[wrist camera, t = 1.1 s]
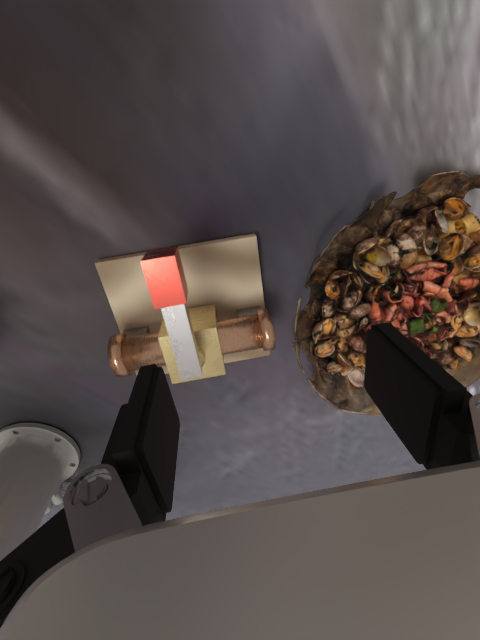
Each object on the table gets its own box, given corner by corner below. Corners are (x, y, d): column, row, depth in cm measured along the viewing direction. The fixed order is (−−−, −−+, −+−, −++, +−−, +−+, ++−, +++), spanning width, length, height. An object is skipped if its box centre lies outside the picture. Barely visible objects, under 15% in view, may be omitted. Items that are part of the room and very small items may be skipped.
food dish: (341, 132, 33) (382, 119, 26) (563, 214, 40) (641, 222, 33) (251, 393, 46) (261, 432, 39) (430, 419, 53) (466, 455, 46)
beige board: (268, 349, 42) (270, 354, 41) (139, 372, 42) (137, 378, 41) (254, 233, 35) (256, 235, 34) (98, 259, 35) (94, 263, 33)
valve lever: (206, 365, 32) (207, 387, 29) (182, 369, 32) (179, 391, 29) (178, 244, 26) (174, 255, 23) (147, 250, 26) (140, 261, 23)
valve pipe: (268, 336, 40) (280, 368, 33) (130, 360, 39) (116, 398, 33) (263, 293, 37) (275, 320, 30) (115, 319, 36) (96, 352, 30)
